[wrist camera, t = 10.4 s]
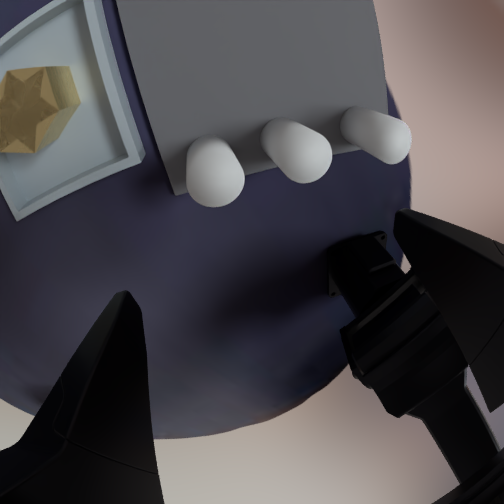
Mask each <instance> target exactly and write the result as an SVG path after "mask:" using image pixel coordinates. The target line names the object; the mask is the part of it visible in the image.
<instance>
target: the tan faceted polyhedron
mask: <svg viewBox="0 0 504 504" xmlns="http://www.w3.org/2000/svg"><path fill="white" fill-rule="evenodd" d="M80 104H81V101H80V98H79V95H78V92H77V89H76V86H75V83H74V80H73V77H72V73H71V70H70V67H69V66H45V67H32V68H23V69H15V70H8V71H7V72H6V74H5V75H4V77H3V79H2V81H1V83H0V152H10V153H36V152H38V151H39V150H41V149H42V148H44V147H45V146H47V145H48V144H50V143H52V142H53V141H55V140H56V139H58V138H59V137H60V135H61V133H62V131H63V130H64V128H65V127H66V125H67V123H68V122H69V120H70V119H71V117H72V116H73V114H74V113H75V111H76V110H77V108H78V107H79V105H80Z"/></svg>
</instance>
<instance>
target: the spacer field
mask: <svg viewBox="0 0 504 504" xmlns="http://www.w3.org/2000/svg"><path fill="white" fill-rule="evenodd" d="M116 2H117V6H118V11H119V15H120V19H121V23H122V27H123V31H124V35H125V39H126V43H127V47H128V50H129V54H130V58H131V61H132V65H133V68H134V72H135V75H136V79H137V82H138V86H139V89H140V92H141V96H142V99H143V102H144V105H145V109H146V112H147V115H148V118H149V121H150V124H151V127H152V130H153V133H154V136H155V139H156V142H157V145H158V148H159V151H160V154H161V157H162V160H163V163H164V166H165V169H166V171H167V174H168V177H169V180H170V183H171V185H172V188H173V191H174V194H175V196H177V195H180V194H183V193H186V192H189V194H190V195H191V197H192V198H193V199H194V200H195V201H196V202H198V203H199V204H201V205H204V206H208V207H220V206H224V205H227V204H229V203H230V202H232V201H233V200H235V199H236V198H237V197H238V195H239V194H240V193H241V191H242V189H243V186H244V175H248V174H252V173H256V172H260V171H264V170H267V169H271V168H276V167H279V168H280V169H281V170H282V171H283V172H284V173H285V175H286V176H287V177H288V178H290V179H291V180H293V181H295V182H298V183H310V182H313V181H315V180H317V179H319V178H320V177H322V176H323V175H324V174H325V173H326V171H327V170H328V168H329V166H330V164H331V160H332V155H334V154H339V153H344V152H350V151H355V150H361V149H363V150H364V151H366V152H368V153H370V154H371V155H373V156H375V157H377V158H378V159H380V160H382V161H383V162H385V163H387V164H396V163H398V162H400V161H402V160H403V159H404V158H405V157H406V155H407V154H408V152H409V150H410V147H411V141H412V139H411V138H412V137H411V132H410V129H409V127H408V126H407V124H406V123H405V122H403V121H402V120H399V119H396V118H394V117H391V116H388V105H387V91H386V80H385V70H384V62H383V54H382V47H381V40H380V34H379V29H378V23H377V18H376V13H375V9H374V4H373V0H116Z"/></svg>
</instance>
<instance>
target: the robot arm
mask: <svg viewBox="0 0 504 504" xmlns="http://www.w3.org/2000/svg"><path fill="white" fill-rule="evenodd" d="M393 233H394V237H395V239H396V240H397V242H398V244H399V246H400V247H401V249H402V251H403V252H404V254H405V256H406V258H407V259H408V261H409V263H410V265H411V268H410V270H409V271H408V272H407V273H406V274H405V273H404V272H403V271H402V270H401V268H400V267H399V266H398V265H397V264H396V261H395V259H394V258H393V257H392V256H391V255H390V254H389V252H388V251H387V250H386V241H387V234H386V233H385V232H384V231H380V232H377V233H374V234H371V235H368V236H365V237H362V238H359V239H355V240H352V241H349V242H346V243H343V244H340V245H336V246H333V247H331V248H329V249H328V251H327V279H328V295H329V297H331V298H332V297H335V296H338V295H341V294H342V296H343V297H344V299H345V301H346V302H347V304H348V306H349V307H350V309H351V311H352V312H353V314H354V316H355V317H356V318H355V319H354V320H353V321H352V322H350V323H349V324H348V325H347V326H344V327H343V328H341V329H340V334H341V337H342V338H341V339H342V342H343V345H344V349H345V352H346V355H347V359H348V362H349V365H350V369H351V371H352V375H353V377H354V378H355V379H359V380H360V381H361V382H362V384H363V385H364V386H366V387H367V388H369V389H373V390H374V391H375V393H376V394H377V396H378V397H379V399H380V401H381V403H382V404H383V406H384V408H385V409H386V411H387V412H388V413H389V414H391V415H393V416H395V417H397V418H400V417H401V416H403V415H404V414H407V415H410V416H413V417H415V418H418V419H421V420H422V421H423V423H424V424H425V425H426V427H427V429H428V430H429V432H430V434H431V435H432V437H433V439H434V440H435V442H436V444H437V445H438V447H439V449H440V450H441V452H442V454H443V455H444V457H445V459H446V460H447V462H448V464H449V466H450V467H451V469H452V471H453V473H454V474H455V476H456V478H457V480H458V481H459V483H460V485H459V486H457V487H456V488H455V489H453V490H452V491H450V492H449V493H447V494H446V495H444V496H443V497H442V498H440V499H438V500H437V501H435V502H434V503H432V504H504V448H503V449H502V450H501V448H500V446H499V444H498V442H497V440H496V438H495V436H494V434H493V432H492V430H491V428H490V426H489V424H488V422H487V420H486V418H485V416H484V414H483V412H482V411H481V409H480V407H479V405H478V404H477V402H476V400H475V398H474V397H473V395H472V393H471V391H470V390H469V388H468V387H467V385H466V380H467V367H468V364H469V365H470V366H469V367H470V369H471V371H472V373H473V375H474V377H475V379H476V382H477V384H478V386H479V388H480V391H481V393H482V395H483V397H484V400H485V403H486V405H487V408H488V410H489V412H490V413H491V412H492V411H494V410H495V409H497V408H498V407H499V406H501V405H502V404H503V403H504V244H502V243H499V242H497V241H494V240H492V239H490V238H487V237H485V236H482V235H480V234H477V233H475V232H473V231H470V230H467V229H465V228H462V227H459V226H457V225H454V224H451V223H449V222H446V221H443V220H440V219H437V218H435V217H432V216H429V215H426V214H423V213H419V212H417V211H414V210H411V209H407V208H404V209H401V210H398V211H397V212H396V213H395V220H394V229H393ZM332 252H333V253H332ZM0 504H164V499H163V495H162V489H161V485H160V479H159V475H158V469H157V461H156V455H155V448H154V440H153V432H152V423H151V412H150V400H149V386H148V367H147V351H146V344H145V336H144V328H143V319H142V312H141V309H140V307H139V305H138V304H137V302H136V301H135V299H134V298H133V296H132V295H131V293H130V292H129V291H126V290H125V291H122V292H118V293H116V294H115V295H114V297H113V298H112V299H111V301H110V302H109V303H108V305H107V306H106V308H105V309H104V310H103V312H102V313H101V315H100V316H99V317H98V319H97V320H96V322H95V323H94V325H93V326H92V328H91V329H90V330H89V332H88V333H87V335H86V336H85V338H84V339H83V341H82V342H81V344H80V345H79V347H78V348H77V350H76V352H75V353H74V355H73V356H72V358H71V359H70V361H69V362H68V364H67V366H66V367H65V369H64V371H63V372H62V374H61V376H60V377H59V379H58V380H57V382H56V384H55V385H54V387H53V389H52V390H51V392H50V394H49V395H48V397H47V399H46V400H45V402H44V403H43V405H42V406H41V408H40V409H39V411H38V412H37V414H36V415H35V417H34V419H33V420H32V422H31V423H30V425H29V427H28V428H27V430H26V431H25V433H24V434H23V436H22V437H21V439H20V440H19V441H18V442H17V443H15V444H14V445H12V446H11V447H9V448H6V449H4V450H1V451H0Z"/></svg>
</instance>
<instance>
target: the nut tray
mask: <svg viewBox="0 0 504 504" xmlns="http://www.w3.org/2000/svg"><path fill="white" fill-rule="evenodd" d="M45 66H69V67H70V70H71V73H72V77H73V80H74V83H75V86H76V89H77V92H78V95H79V98H80V101H81V104H80V105H79V107H78V108H77V110H76V111H75V113H74V114H73V116H72V117H71V119H70V120H69V122H68V123H67V125H66V127H65V128H64V130H63V131H62V133H61V135H60V137H59V138H58V139H56V140H55V141H53V142H52V143H50V144H48V145H47V146H45V147H44V148H42V149H41V150H39V151H38V152H36V153H10V152H0V189H1V192H2V194H3V196H4V198H5V200H6V202H7V204H8V206H9V208H10V210H11V211H12V213H13V215H14V217H15V219H16V221H19V220H21V219H22V218H24V217H26V216H27V215H29V214H31V213H33V212H35V211H36V210H38V209H40V208H42V207H44V206H46V205H47V204H49V203H51V202H53V201H55V200H57V199H59V198H61V197H63V196H65V195H67V194H69V193H71V192H73V191H75V190H78V189H80V188H82V187H84V186H86V185H88V184H91V183H93V182H95V181H97V180H100V179H102V178H104V177H107V176H109V175H111V174H114V173H116V172H119V171H121V170H123V169H126V168H129V167H131V166H134V165H136V164H139V163H141V162H142V160H143V158H144V156H145V154H146V153H145V150H144V147H143V144H142V141H141V139H140V136H139V133H138V130H137V127H136V124H135V121H134V118H133V115H132V112H131V109H130V106H129V102H128V99H127V96H126V93H125V90H124V86H123V83H122V79H121V76H120V73H119V69H118V66H117V62H116V58H115V55H114V51H113V47H112V43H111V40H110V36H109V32H108V28H107V23H106V19H105V15H104V10H103V6H102V1H101V0H54V1H52V2H50V3H49V4H47V5H46V6H44V7H43V8H41V9H39V10H38V11H36V12H35V13H34V14H32V15H31V16H29V17H28V18H26V19H25V20H24V21H22V22H21V23H20V24H18V25H17V26H16V27H14V28H13V29H12V30H10V31H9V32H8V33H7V34H5V35H4V36H3V37H2V38H1V39H0V83H1V81H2V79H3V77H4V75H5V74H6V72H7V71H8V70H15V69H23V68H32V67H45Z"/></svg>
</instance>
